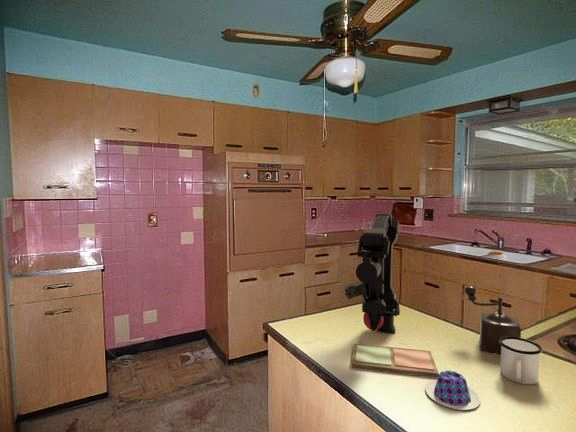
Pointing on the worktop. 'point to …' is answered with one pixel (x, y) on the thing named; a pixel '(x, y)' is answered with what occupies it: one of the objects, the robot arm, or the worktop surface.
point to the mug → (520, 359)
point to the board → (394, 360)
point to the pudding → (452, 391)
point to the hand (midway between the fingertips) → (373, 325)
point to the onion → (367, 322)
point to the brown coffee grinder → (494, 324)
